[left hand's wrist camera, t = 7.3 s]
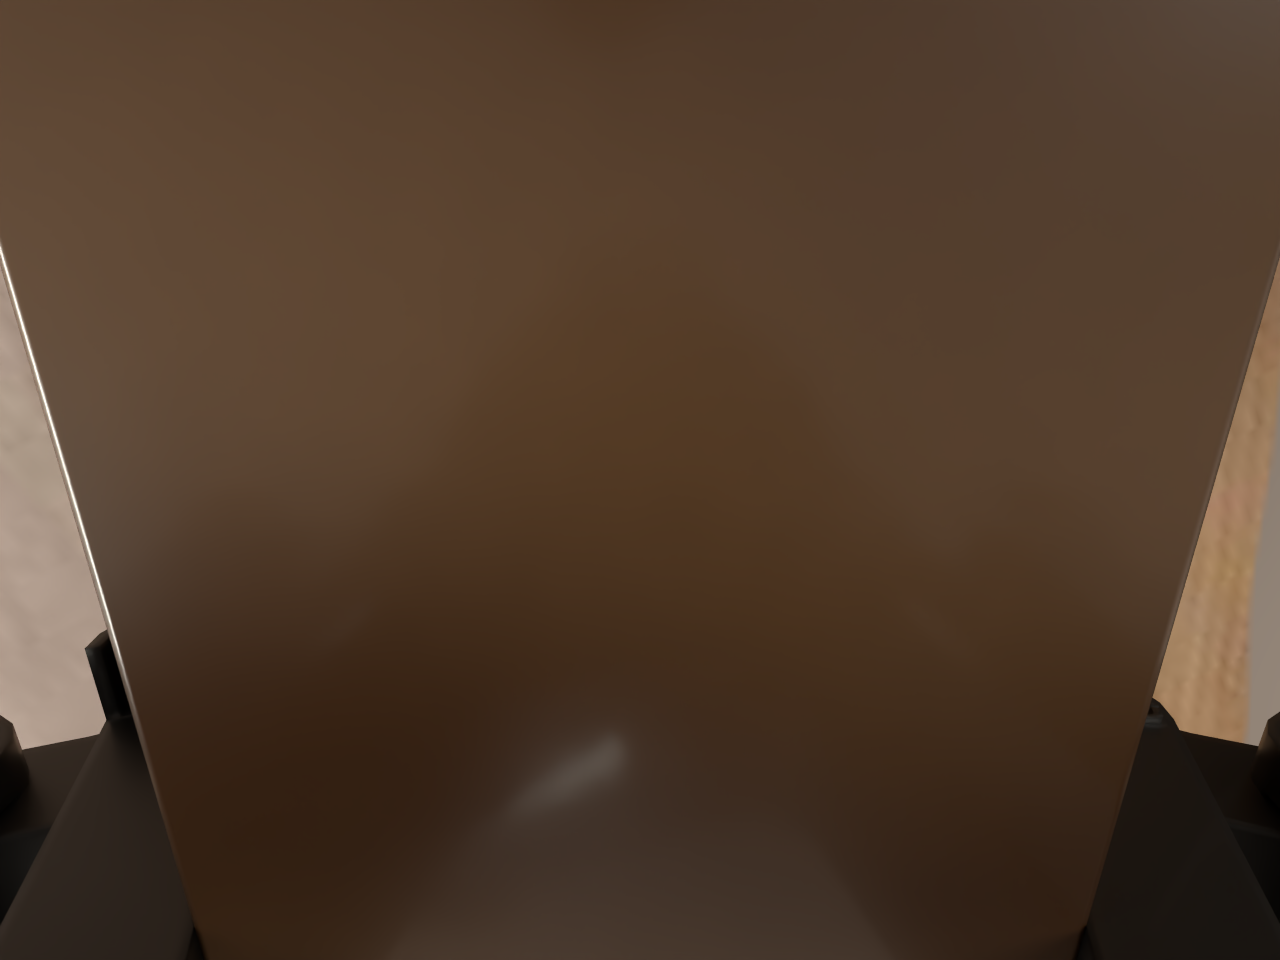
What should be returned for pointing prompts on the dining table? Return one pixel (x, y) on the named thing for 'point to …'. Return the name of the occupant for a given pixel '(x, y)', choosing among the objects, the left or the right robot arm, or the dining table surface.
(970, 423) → the box
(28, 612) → the dining table surface
